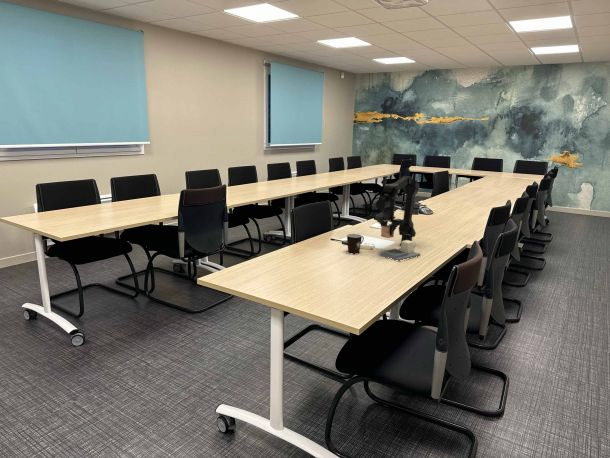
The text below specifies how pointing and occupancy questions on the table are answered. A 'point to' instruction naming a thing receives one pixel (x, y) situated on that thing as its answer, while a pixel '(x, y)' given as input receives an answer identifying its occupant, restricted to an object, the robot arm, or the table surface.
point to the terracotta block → (386, 231)
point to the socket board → (401, 251)
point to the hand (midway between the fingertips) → (387, 234)
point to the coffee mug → (354, 242)
